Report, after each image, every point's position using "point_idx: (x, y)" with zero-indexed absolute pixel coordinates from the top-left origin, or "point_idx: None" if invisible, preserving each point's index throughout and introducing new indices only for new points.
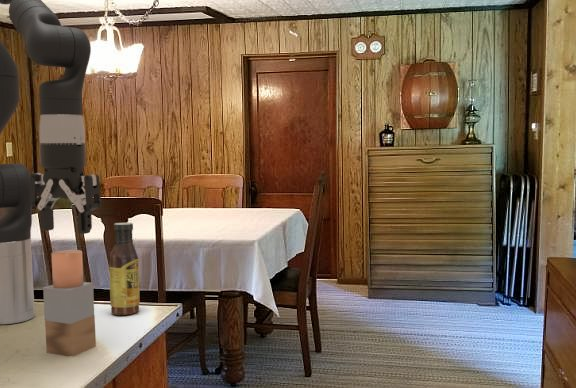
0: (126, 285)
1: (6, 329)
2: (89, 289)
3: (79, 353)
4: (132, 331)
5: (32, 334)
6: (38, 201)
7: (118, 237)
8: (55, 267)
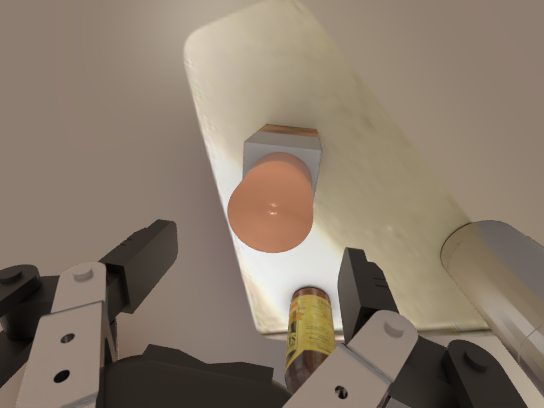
0: (296, 324)
1: (454, 205)
2: None
3: None
4: None
5: (393, 194)
6: (433, 375)
7: None
8: (282, 166)
